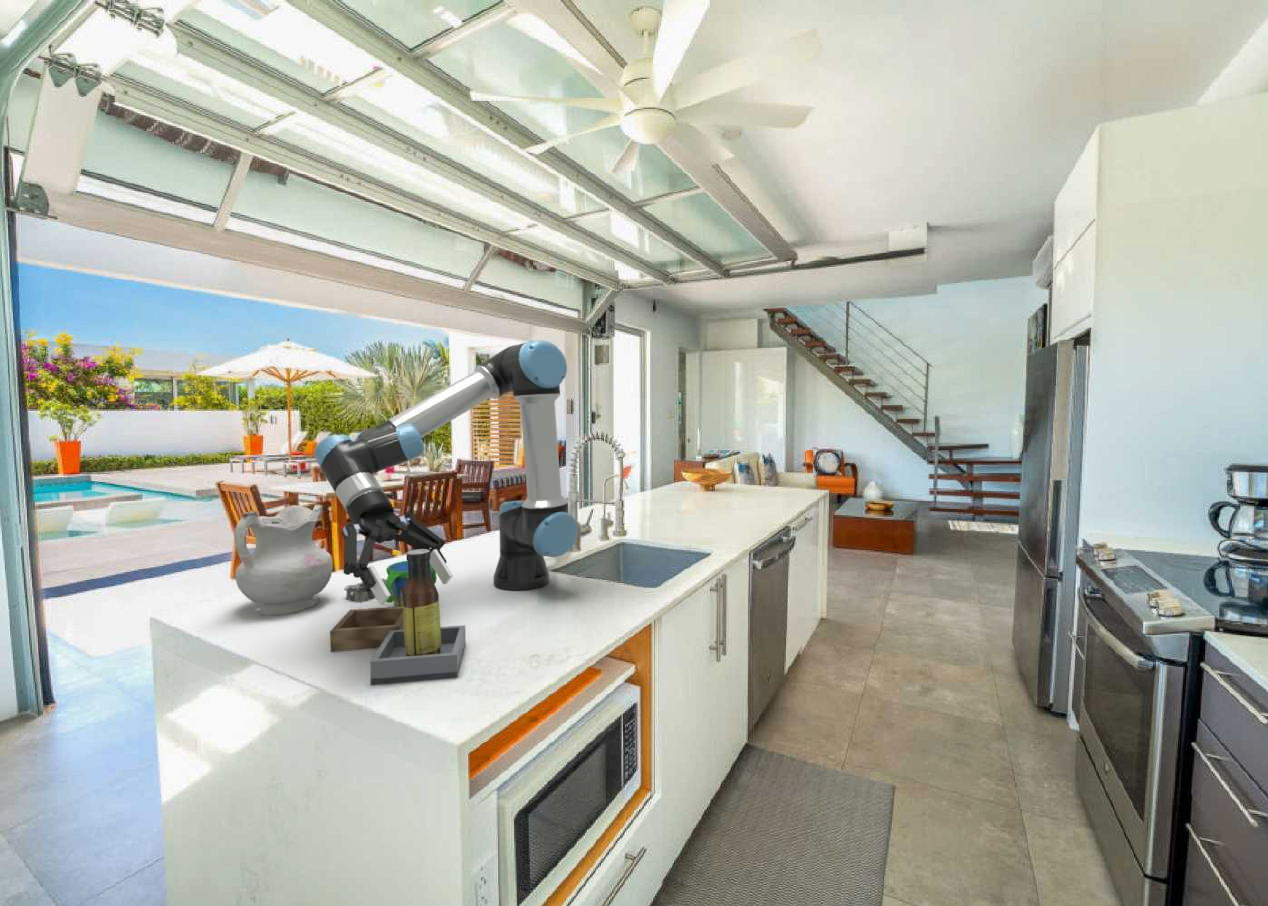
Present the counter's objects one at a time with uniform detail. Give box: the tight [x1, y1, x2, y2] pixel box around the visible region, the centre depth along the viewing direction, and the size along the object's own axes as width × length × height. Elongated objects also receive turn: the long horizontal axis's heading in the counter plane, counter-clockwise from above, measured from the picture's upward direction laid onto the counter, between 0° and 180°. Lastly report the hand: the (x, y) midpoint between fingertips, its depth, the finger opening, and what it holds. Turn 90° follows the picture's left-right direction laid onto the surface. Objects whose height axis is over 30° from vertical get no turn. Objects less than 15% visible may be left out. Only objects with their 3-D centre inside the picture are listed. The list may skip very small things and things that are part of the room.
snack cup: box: [385, 560, 438, 607], centre depth 129 cm, size 16×10×10 cm
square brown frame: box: [329, 606, 404, 652], centre depth 111 cm, size 12×12×4 cm
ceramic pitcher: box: [233, 503, 334, 617], centre depth 127 cm, size 22×20×25 cm
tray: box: [369, 624, 467, 686], centre depth 99 cm, size 14×14×4 cm
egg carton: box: [343, 578, 387, 603], centre depth 138 cm, size 10×7×4 cm
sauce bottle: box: [403, 549, 441, 656], centre depth 98 cm, size 7×6×20 cm
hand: (418, 589), depth 98 cm, fingers open, 13 cm apart
